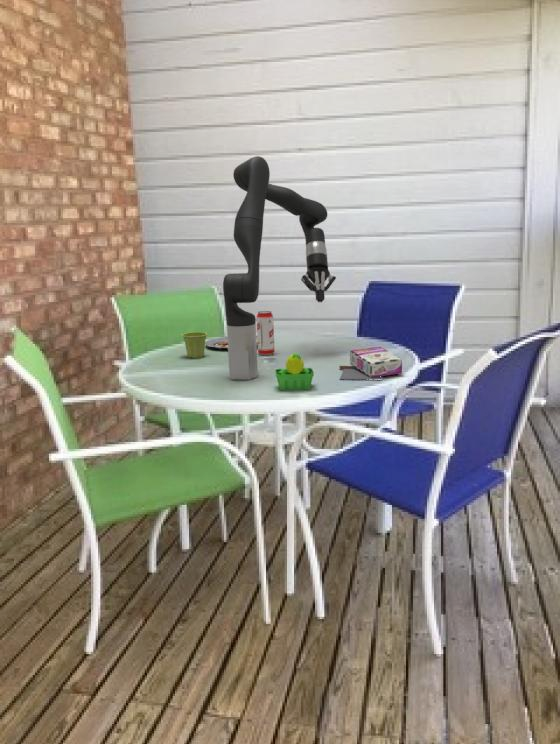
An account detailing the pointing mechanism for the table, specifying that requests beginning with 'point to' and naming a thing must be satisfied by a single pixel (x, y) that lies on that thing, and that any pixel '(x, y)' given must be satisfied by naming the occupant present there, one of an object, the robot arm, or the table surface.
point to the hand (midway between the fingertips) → (320, 301)
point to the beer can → (265, 333)
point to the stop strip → (347, 367)
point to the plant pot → (195, 343)
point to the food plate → (221, 342)
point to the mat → (355, 375)
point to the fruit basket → (294, 374)
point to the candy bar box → (376, 362)
